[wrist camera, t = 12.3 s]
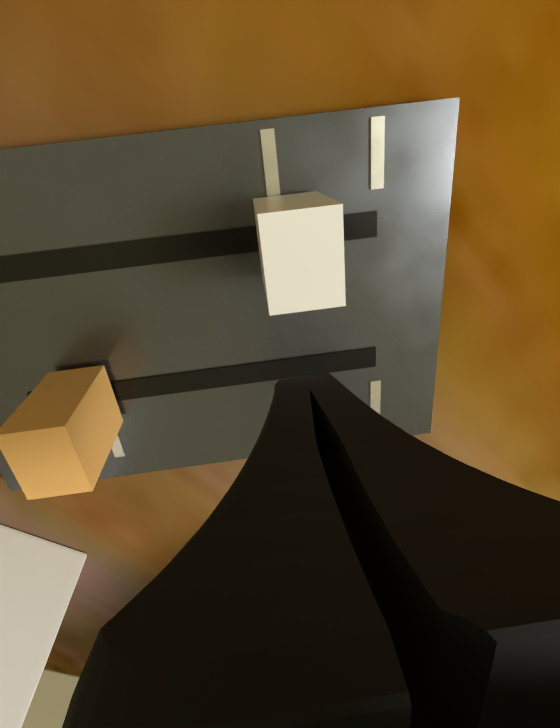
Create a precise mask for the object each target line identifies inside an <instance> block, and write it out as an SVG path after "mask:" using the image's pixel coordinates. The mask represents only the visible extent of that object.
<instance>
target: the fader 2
mask: <svg viewBox="0 0 560 728" xmlns="http://www.w3.org/2000/svg"><path fill="white" fill-rule="evenodd" d="M253 206H254V214H255V222H256V230H257V238H258V246H259V254H260V262H261V270H262V278H263V283H264V288H265V294H266V299H267V305H268V310H269V315H270V316H272V315H279V314H287V313H295V312H303V311H311V310H318V309H326V308H334V307H342V306H346V296H345V261H344V225H343V204H342V203H340V202H338V201H336V200H334V199H332V198H330V197H327V196H325V195H323V194H321V193H319V192H317V191H312V192H304V193H296V194H287V195H279V196H271V197H262V198H254V199H253Z"/></svg>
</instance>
